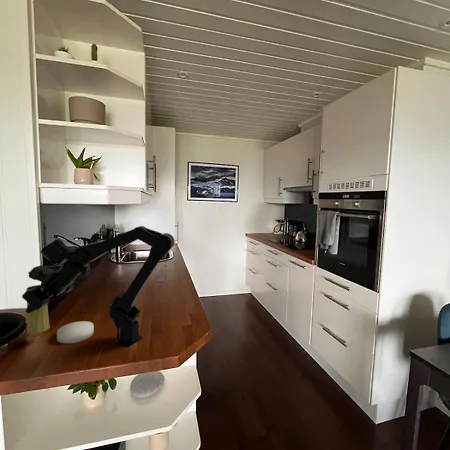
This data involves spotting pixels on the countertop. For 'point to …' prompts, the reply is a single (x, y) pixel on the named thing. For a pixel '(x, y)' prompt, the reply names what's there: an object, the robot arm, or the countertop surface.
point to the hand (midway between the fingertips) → (33, 308)
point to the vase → (37, 317)
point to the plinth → (75, 332)
